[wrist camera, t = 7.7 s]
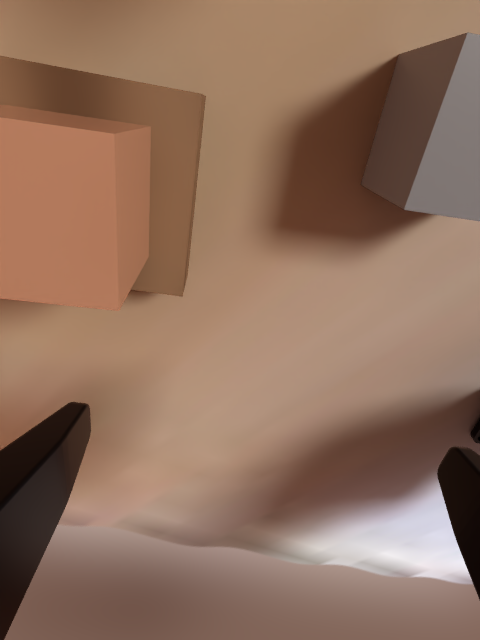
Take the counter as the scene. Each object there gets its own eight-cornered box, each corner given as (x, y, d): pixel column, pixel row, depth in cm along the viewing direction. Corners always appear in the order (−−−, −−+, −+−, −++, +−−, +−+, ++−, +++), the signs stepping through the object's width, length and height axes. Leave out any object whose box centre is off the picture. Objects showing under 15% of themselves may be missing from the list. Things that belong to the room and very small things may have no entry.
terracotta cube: (151, 126, 14) (114, 134, 9) (148, 256, 16) (119, 311, 12) (7, 105, 13) (-102, 102, 9) (27, 242, 16) (-51, 293, 11)
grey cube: (512, 76, 15) (624, 64, 11) (460, 200, 18) (535, 229, 14) (398, 54, 15) (467, 32, 11) (360, 184, 17) (404, 209, 13)
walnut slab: (206, 96, 16) (202, 94, 13) (188, 271, 20) (182, 296, 17) (7, 59, 15) (-39, 48, 12) (29, 249, 19) (-3, 272, 16)
